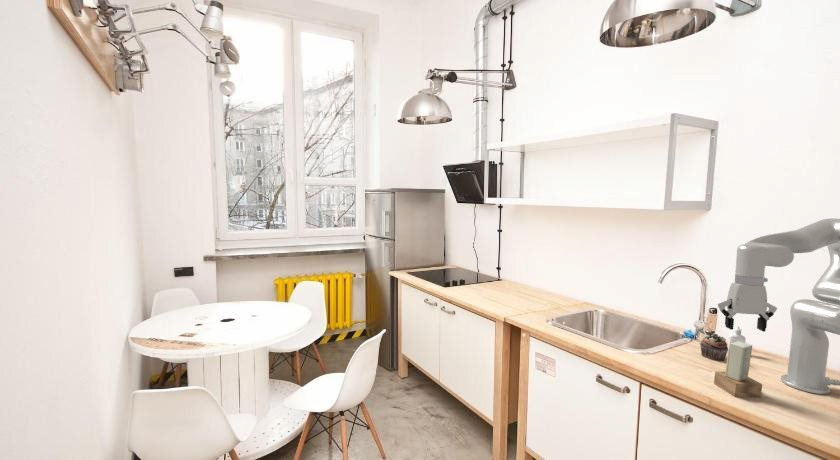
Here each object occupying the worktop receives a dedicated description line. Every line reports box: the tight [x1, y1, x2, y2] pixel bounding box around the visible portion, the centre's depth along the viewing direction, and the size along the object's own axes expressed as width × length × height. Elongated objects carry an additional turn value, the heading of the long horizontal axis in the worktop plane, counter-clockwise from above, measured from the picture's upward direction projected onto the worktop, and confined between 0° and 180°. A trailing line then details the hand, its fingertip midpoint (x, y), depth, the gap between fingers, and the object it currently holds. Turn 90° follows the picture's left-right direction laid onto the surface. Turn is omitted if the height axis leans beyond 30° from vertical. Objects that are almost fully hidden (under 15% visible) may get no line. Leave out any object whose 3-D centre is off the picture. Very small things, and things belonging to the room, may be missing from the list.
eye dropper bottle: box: [727, 325, 747, 351], centre depth 167 cm, size 4×6×12 cm
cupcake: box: [699, 333, 728, 362], centre depth 161 cm, size 10×10×10 cm
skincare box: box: [724, 341, 753, 381], centre depth 132 cm, size 6×4×12 cm
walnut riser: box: [713, 371, 763, 398], centre depth 133 cm, size 9×9×5 cm
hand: (745, 329), depth 131 cm, fingers open, 9 cm apart
